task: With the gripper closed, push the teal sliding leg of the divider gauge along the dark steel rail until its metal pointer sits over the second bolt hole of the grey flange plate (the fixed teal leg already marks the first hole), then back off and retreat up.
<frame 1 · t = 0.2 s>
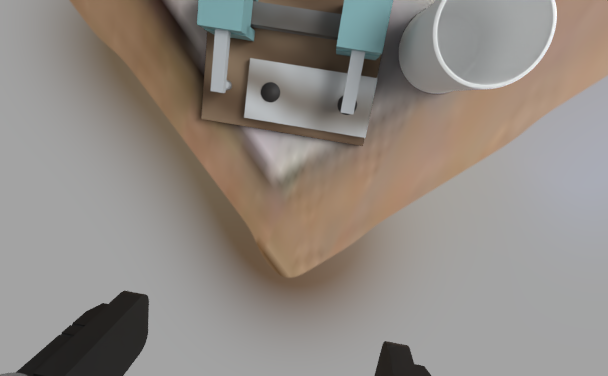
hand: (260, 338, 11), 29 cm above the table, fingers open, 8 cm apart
fixed leg: (359, 35, 35), resting on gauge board
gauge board: (293, 56, 36), on the table
mug: (454, 39, 34), on the table
sliding leg: (227, 38, 32), point 4 cm above the table, slide at 0.0 cm
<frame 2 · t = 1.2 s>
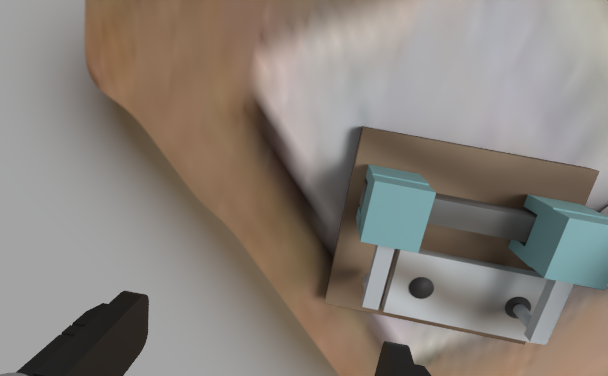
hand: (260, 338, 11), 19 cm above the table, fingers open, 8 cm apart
fixed leg: (533, 220, 28), resting on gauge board
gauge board: (444, 237, 29), on the table
sliding leg: (382, 239, 26), point 4 cm above the table, slide at 0.0 cm
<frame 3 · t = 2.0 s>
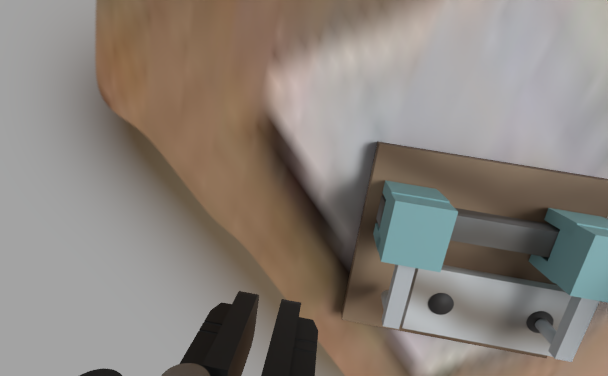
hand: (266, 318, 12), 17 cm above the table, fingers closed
fixed leg: (553, 232, 28), resting on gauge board
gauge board: (463, 251, 29), on the table
sliding leg: (402, 256, 25), point 4 cm above the table, slide at 0.0 cm
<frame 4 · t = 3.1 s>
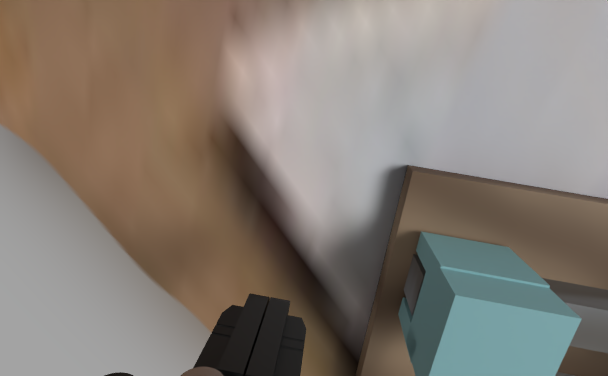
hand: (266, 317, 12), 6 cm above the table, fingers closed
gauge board: (539, 337, 18), on the table
sliding leg: (451, 366, 15), point 4 cm above the table, slide at 0.0 cm
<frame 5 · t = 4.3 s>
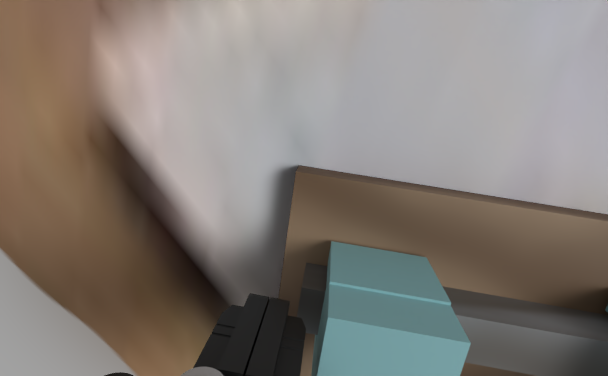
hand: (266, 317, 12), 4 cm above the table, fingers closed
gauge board: (456, 350, 17), on the table
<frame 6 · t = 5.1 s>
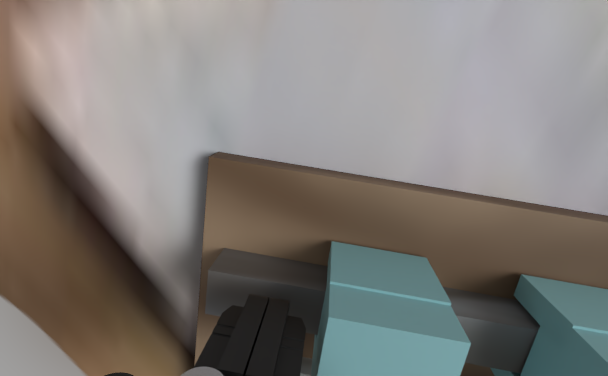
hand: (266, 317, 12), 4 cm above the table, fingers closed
fixed leg: (533, 309, 16), resting on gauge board
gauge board: (381, 337, 17), on the table
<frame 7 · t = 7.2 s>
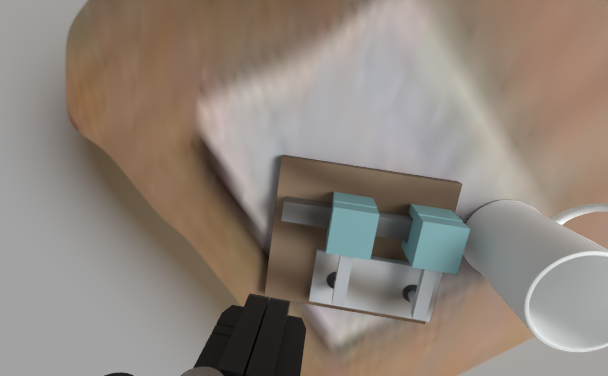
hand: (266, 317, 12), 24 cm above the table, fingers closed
fixed leg: (422, 223, 36), resting on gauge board
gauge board: (355, 239, 37), on the table
mug: (514, 228, 35), on the table
sliding leg: (345, 250, 33), point 4 cm above the table, slide at 4.7 cm
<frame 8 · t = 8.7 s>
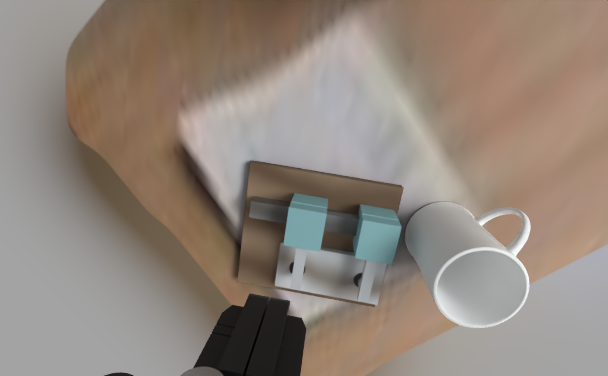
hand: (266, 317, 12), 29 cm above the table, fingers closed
fixed leg: (371, 220, 41), resting on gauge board
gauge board: (315, 233, 43), on the table
mug: (451, 226, 41), on the table
sliding leg: (303, 243, 39), point 4 cm above the table, slide at 4.7 cm
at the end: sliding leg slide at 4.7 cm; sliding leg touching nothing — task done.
